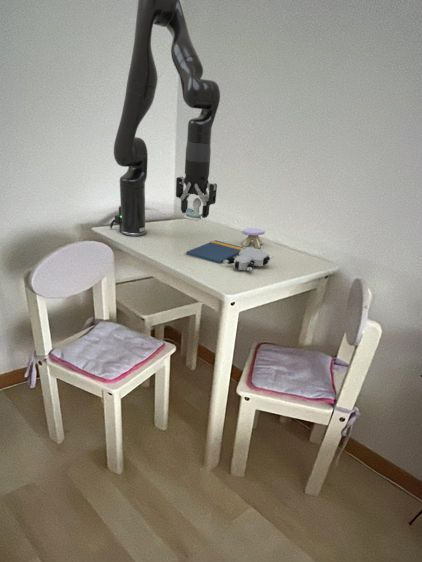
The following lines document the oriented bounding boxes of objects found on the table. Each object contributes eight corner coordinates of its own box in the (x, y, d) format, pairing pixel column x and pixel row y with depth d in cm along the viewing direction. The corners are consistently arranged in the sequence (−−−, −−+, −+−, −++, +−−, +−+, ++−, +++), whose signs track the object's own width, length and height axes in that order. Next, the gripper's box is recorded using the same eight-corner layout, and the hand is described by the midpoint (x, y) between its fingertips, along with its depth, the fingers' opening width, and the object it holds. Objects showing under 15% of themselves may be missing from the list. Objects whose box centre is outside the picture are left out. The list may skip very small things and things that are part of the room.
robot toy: (250, 279, 138) (274, 265, 147) (252, 266, 135) (276, 253, 145) (220, 269, 144) (245, 256, 153) (220, 256, 141) (246, 244, 151)
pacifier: (196, 223, 135) (208, 219, 139) (197, 202, 132) (209, 199, 136) (179, 217, 139) (191, 214, 143) (179, 197, 135) (192, 195, 139)
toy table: (245, 249, 162) (247, 233, 159) (235, 242, 169) (237, 227, 166) (268, 248, 165) (270, 233, 162) (257, 241, 172) (259, 226, 169)
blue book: (186, 254, 151) (186, 251, 151) (215, 242, 166) (215, 239, 165) (220, 263, 146) (220, 260, 145) (246, 250, 160) (247, 247, 160)
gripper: (224, 161, 129) (219, 217, 138) (185, 154, 135) (183, 208, 144) (211, 163, 124) (206, 221, 133) (171, 156, 129) (169, 212, 139)
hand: (194, 214), depth 138 cm, fingers closed on pacifier, 7 cm apart
